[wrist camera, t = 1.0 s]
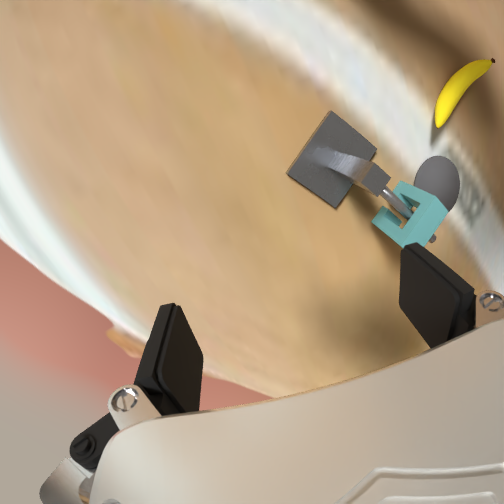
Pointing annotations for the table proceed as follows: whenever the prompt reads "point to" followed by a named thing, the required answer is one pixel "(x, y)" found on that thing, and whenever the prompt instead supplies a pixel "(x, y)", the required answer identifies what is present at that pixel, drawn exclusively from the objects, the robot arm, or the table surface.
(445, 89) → the banana
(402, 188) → the link
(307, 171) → the stand
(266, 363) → the table surface
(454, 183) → the coaster
